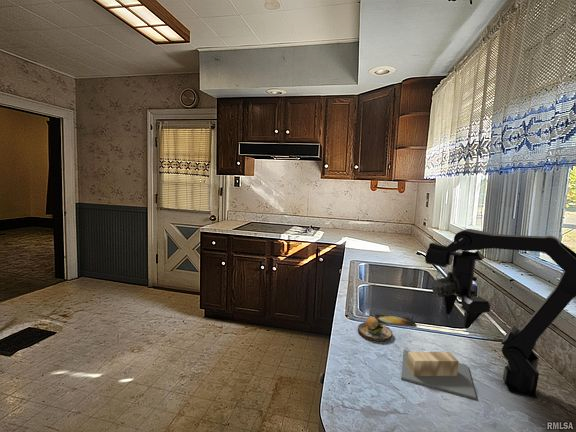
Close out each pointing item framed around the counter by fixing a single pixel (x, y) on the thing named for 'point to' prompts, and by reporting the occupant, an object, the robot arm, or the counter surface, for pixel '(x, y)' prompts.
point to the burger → (374, 331)
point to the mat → (443, 380)
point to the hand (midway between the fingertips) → (456, 320)
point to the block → (432, 364)
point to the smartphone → (395, 320)
